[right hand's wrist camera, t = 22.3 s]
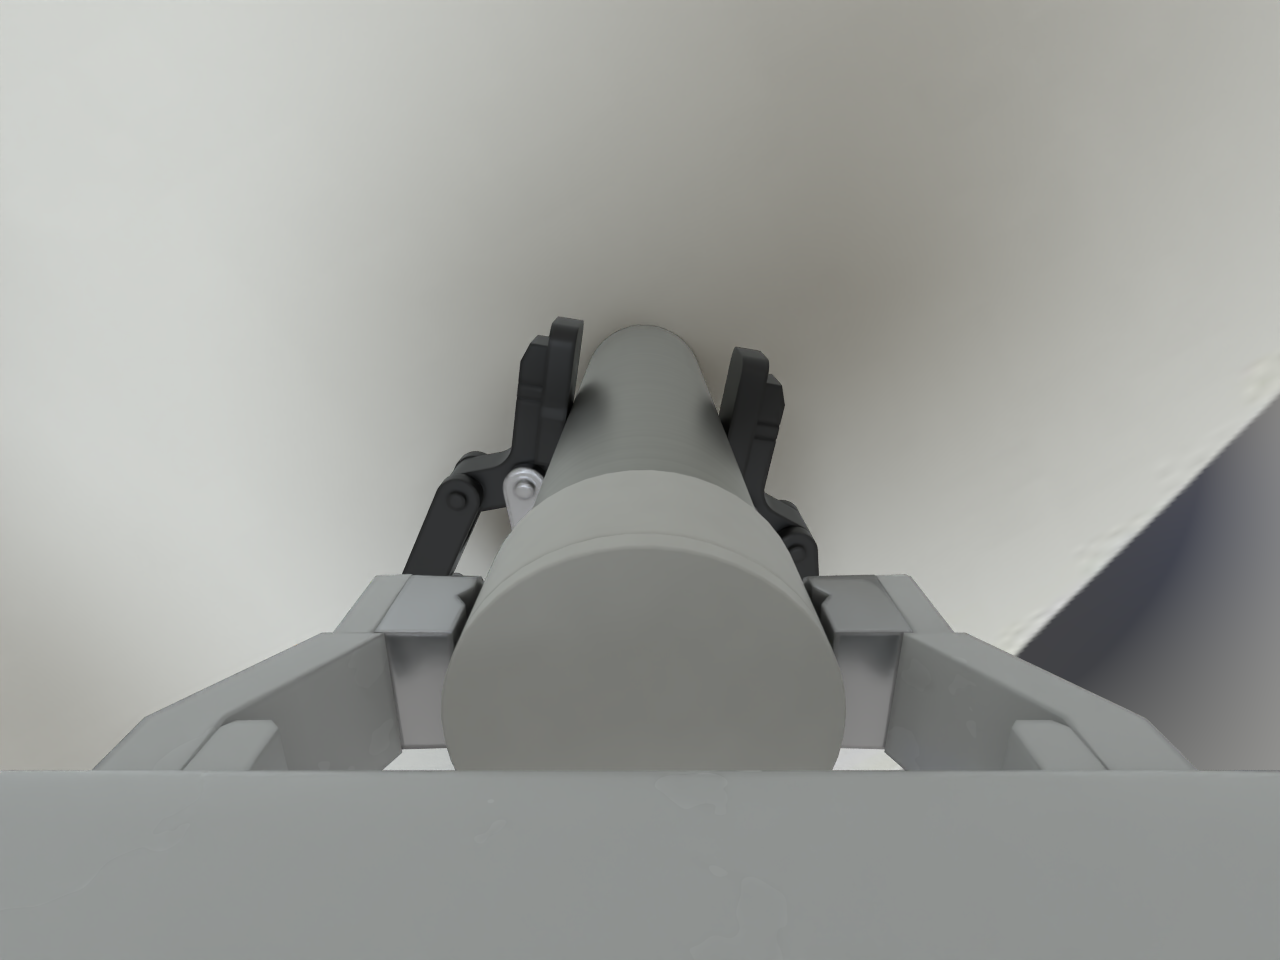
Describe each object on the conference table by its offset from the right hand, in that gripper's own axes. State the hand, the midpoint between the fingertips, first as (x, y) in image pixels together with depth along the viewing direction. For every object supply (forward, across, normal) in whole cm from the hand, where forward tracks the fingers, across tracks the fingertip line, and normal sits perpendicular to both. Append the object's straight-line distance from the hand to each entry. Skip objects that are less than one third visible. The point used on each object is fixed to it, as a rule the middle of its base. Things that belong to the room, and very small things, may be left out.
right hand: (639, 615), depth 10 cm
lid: (-2, 0, 0) cm, 2 cm away
